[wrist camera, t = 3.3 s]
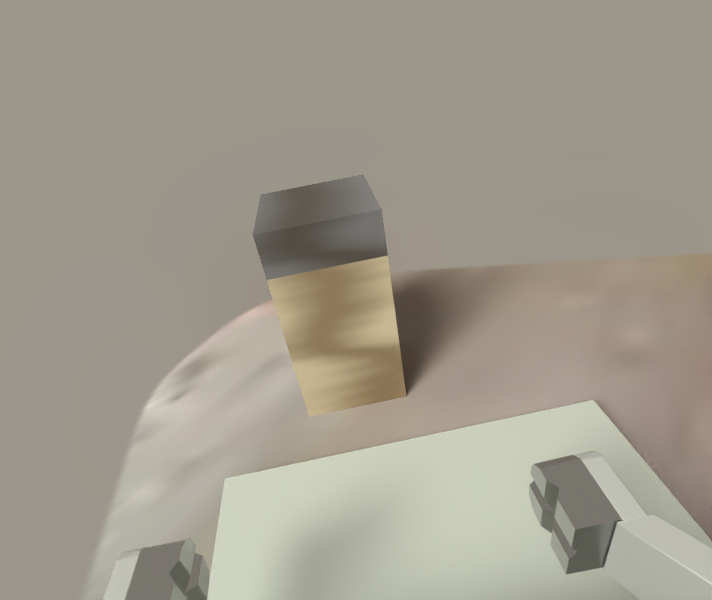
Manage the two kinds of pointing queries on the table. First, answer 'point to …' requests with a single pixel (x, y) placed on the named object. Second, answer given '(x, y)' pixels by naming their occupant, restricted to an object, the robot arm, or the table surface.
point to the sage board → (424, 517)
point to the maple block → (332, 292)
